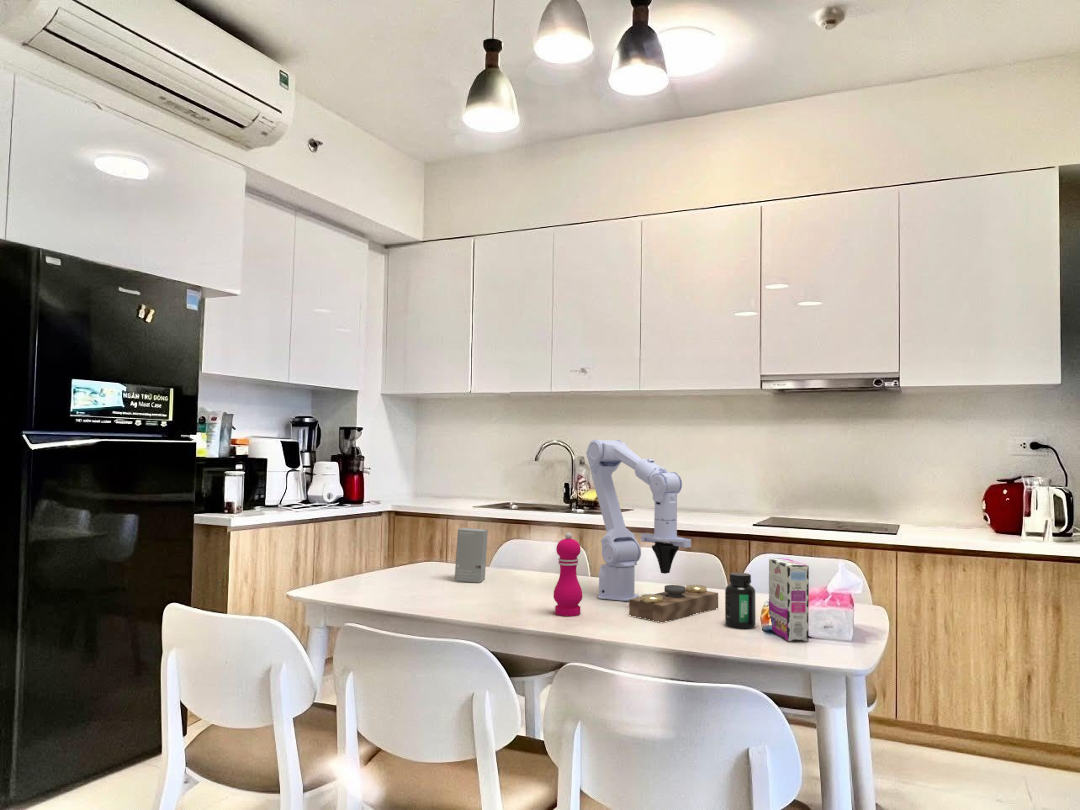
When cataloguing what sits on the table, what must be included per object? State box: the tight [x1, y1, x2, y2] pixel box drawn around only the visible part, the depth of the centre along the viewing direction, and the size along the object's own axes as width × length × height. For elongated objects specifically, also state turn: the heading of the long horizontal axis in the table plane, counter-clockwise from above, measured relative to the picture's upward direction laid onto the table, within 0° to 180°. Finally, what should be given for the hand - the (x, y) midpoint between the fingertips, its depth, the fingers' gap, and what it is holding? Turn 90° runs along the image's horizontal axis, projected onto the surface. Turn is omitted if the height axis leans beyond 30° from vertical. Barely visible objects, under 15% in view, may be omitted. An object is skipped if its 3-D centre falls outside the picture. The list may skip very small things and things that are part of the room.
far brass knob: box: [685, 584, 708, 594], centre depth 196 cm, size 5×5×5 cm
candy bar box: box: [768, 557, 810, 643], centre depth 167 cm, size 11×5×16 cm, turn 5°
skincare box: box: [454, 527, 489, 584], centre depth 230 cm, size 8×7×16 cm
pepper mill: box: [553, 532, 584, 617], centre depth 187 cm, size 7×7×20 cm
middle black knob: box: [663, 584, 686, 598], centre depth 190 cm, size 5×5×5 cm
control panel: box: [628, 586, 719, 623], centre depth 189 cm, size 24×10×4 cm, turn 134°
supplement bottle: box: [724, 572, 757, 630], centre depth 176 cm, size 7×7×12 cm
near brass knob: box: [640, 593, 663, 604], centre depth 183 cm, size 5×5×5 cm
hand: (665, 572), depth 192 cm, fingers closed
